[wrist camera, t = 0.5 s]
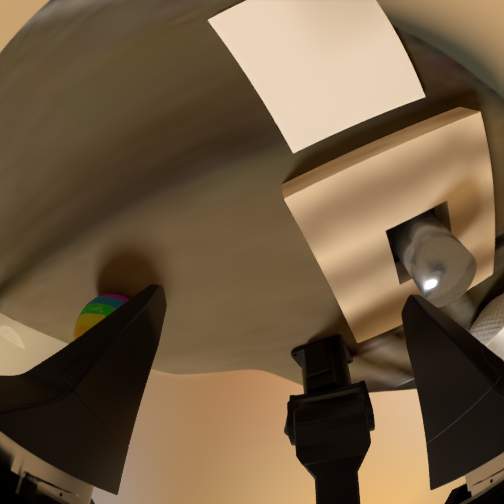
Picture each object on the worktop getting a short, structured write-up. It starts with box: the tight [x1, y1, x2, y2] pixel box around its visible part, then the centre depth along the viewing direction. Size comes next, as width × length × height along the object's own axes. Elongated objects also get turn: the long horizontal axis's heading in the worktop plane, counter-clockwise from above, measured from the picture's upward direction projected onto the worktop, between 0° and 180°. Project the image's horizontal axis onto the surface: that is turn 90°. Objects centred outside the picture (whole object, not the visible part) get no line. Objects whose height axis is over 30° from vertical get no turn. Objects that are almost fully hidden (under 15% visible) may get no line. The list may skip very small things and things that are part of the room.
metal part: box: [386, 210, 477, 307], centre depth 19 cm, size 5×5×8 cm
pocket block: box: [281, 107, 495, 343], centre depth 21 cm, size 18×18×3 cm
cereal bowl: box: [469, 293, 504, 360], centre depth 26 cm, size 17×17×7 cm
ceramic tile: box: [208, 0, 425, 153], centre depth 14 cm, size 12×12×1 cm
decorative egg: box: [73, 294, 130, 341], centre depth 25 cm, size 8×8×10 cm
